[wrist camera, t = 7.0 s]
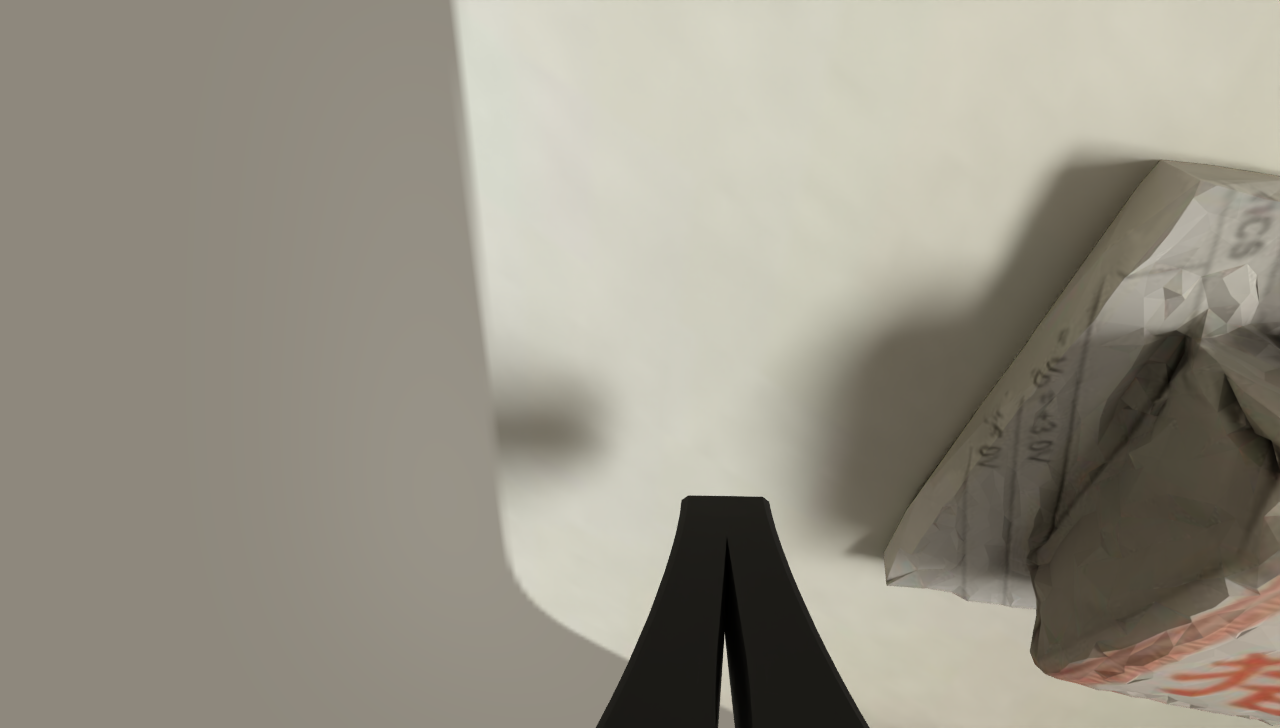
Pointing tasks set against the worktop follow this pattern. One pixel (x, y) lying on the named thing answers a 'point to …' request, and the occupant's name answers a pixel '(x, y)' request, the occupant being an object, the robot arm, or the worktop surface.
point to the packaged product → (1134, 459)
